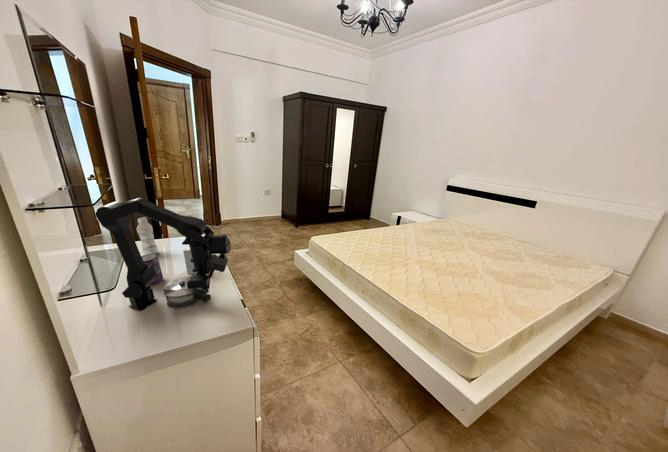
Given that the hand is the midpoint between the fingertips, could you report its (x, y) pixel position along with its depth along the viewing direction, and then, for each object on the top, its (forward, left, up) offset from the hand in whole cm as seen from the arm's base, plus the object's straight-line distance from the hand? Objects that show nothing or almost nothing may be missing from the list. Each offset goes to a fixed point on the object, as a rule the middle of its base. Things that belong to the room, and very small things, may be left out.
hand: (207, 288), depth 98 cm
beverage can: (+1, +31, -6) cm, 32 cm away
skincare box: (+14, +21, -6) cm, 26 cm away
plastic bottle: (+18, +55, -6) cm, 58 cm away
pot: (-3, +6, -5) cm, 9 cm away
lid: (-3, +7, 0) cm, 7 cm away
